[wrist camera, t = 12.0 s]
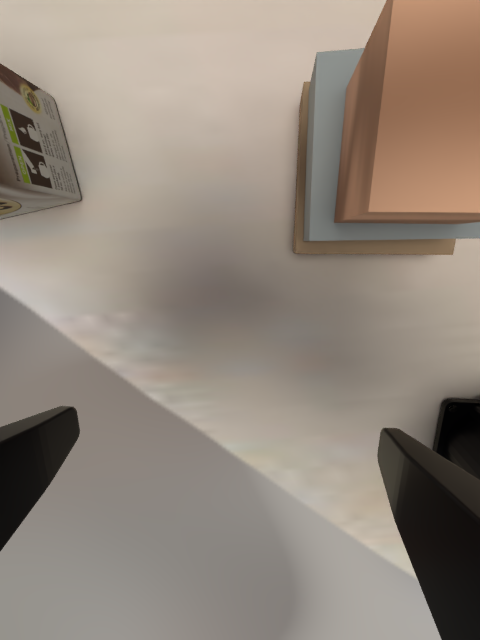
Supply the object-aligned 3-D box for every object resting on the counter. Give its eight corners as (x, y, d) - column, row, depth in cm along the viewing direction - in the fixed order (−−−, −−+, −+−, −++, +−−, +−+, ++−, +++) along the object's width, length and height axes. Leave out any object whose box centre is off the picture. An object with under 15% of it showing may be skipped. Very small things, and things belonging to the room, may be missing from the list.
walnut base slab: (425, 252, 18) (452, 254, 16) (292, 251, 19) (295, 253, 16) (448, 101, 16) (485, 72, 14) (299, 108, 17) (303, 82, 14)
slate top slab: (442, 238, 15) (481, 238, 13) (303, 240, 16) (309, 241, 13) (466, 78, 14) (517, 35, 11) (308, 90, 14) (316, 52, 12)
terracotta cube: (458, 224, 12) (572, 213, 8) (333, 222, 13) (368, 211, 8) (485, 83, 11) (642, -37, 6) (346, 87, 12) (395, -19, 7)
